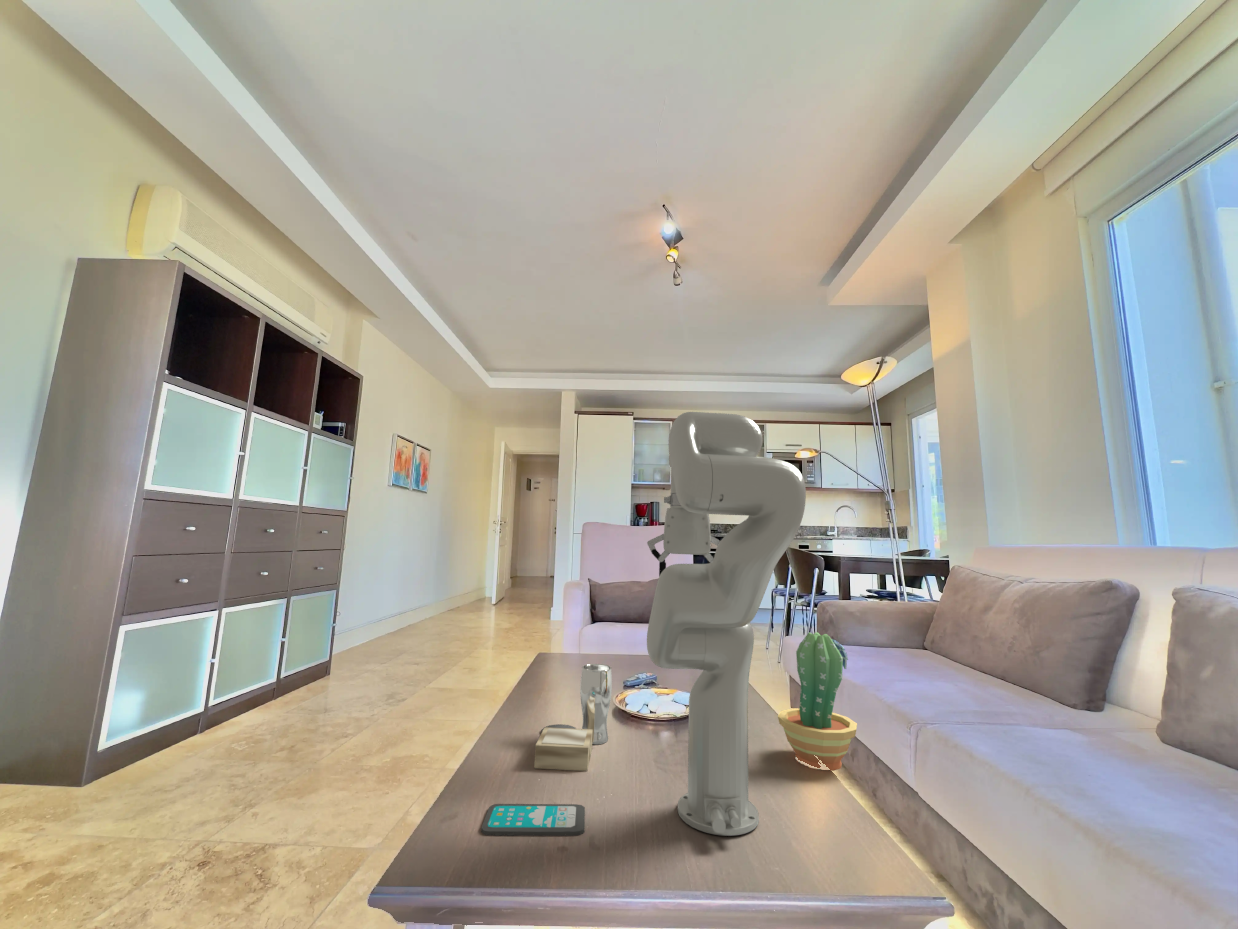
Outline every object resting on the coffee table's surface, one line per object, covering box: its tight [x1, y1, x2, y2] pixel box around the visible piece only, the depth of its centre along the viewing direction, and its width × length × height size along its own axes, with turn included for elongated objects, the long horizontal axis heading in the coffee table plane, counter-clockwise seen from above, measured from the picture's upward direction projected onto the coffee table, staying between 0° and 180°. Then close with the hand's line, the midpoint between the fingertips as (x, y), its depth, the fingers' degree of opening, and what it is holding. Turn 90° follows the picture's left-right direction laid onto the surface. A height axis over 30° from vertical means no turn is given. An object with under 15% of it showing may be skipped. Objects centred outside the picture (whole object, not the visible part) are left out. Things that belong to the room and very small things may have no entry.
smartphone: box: [480, 803, 586, 837], centre depth 79 cm, size 9×1×15 cm
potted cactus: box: [777, 631, 858, 772], centre depth 107 cm, size 15×15×25 cm
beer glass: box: [579, 663, 613, 746], centre depth 113 cm, size 7×7×15 cm
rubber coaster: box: [541, 723, 577, 734], centre depth 115 cm, size 8×8×1 cm
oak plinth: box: [534, 726, 593, 772], centre depth 102 cm, size 10×10×4 cm
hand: (685, 581), depth 112 cm, fingers open, 9 cm apart
